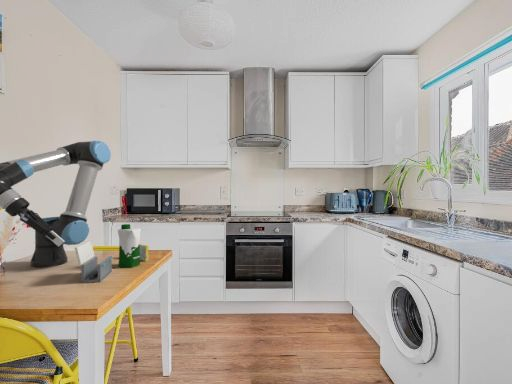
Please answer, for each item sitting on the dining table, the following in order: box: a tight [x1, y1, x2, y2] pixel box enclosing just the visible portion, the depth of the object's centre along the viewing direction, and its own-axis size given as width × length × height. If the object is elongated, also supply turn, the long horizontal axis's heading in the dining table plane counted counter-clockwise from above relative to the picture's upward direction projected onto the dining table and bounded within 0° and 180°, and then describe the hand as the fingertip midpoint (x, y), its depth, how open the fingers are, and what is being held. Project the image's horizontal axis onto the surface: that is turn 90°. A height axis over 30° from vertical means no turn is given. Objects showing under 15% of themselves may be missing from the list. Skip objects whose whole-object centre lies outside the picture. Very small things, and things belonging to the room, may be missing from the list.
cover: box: [74, 240, 96, 266], centre depth 127 cm, size 16×7×1 cm
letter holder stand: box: [80, 255, 113, 284], centre depth 128 cm, size 16×8×7 cm, turn 11°
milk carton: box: [117, 223, 142, 269], centre depth 147 cm, size 9×9×20 cm
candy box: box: [140, 244, 150, 263], centre depth 161 cm, size 16×2×8 cm, turn 58°
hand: (61, 243), depth 124 cm, fingers closed
